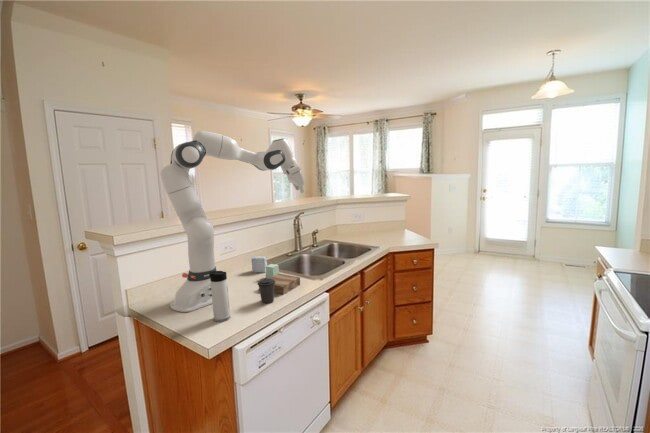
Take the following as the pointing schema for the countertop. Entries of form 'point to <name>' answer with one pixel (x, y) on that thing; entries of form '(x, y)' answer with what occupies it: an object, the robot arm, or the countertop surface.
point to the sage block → (271, 270)
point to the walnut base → (285, 283)
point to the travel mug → (220, 295)
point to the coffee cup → (266, 290)
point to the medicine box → (259, 264)
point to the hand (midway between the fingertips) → (300, 191)
